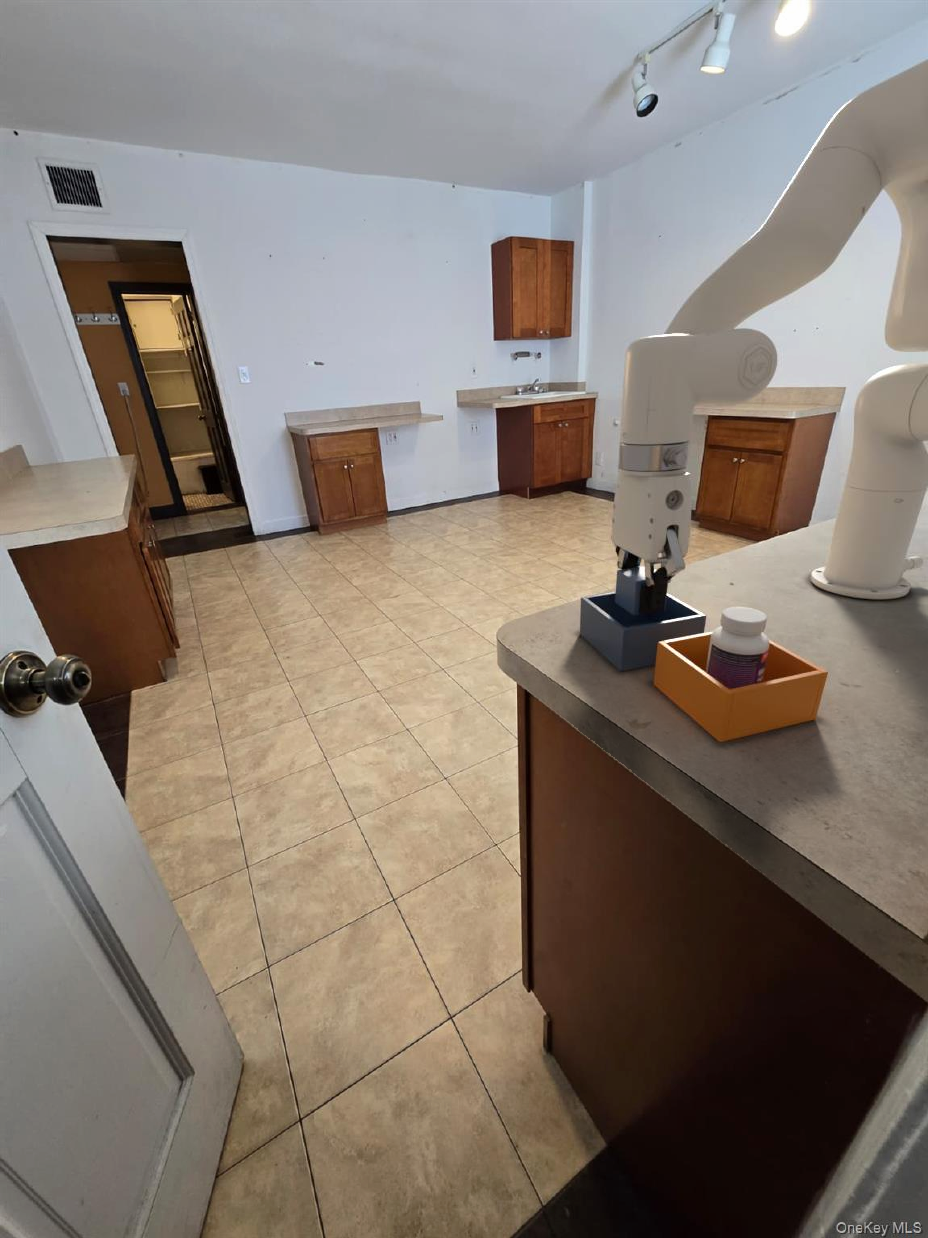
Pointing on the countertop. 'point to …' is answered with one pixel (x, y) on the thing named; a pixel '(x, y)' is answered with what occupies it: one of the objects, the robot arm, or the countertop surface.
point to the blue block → (630, 588)
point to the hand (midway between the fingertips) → (639, 603)
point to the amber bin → (738, 689)
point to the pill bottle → (738, 648)
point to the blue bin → (635, 629)
